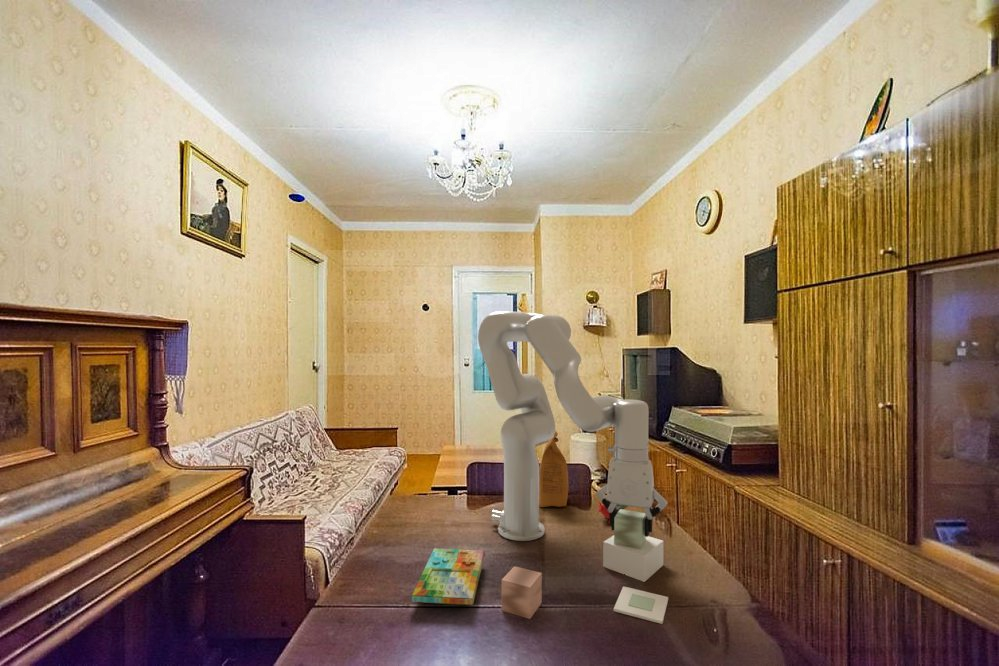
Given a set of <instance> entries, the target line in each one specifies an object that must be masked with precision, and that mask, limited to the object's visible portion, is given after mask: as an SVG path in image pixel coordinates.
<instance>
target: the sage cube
mask: <svg viewBox="0 0 999 666" xmlns="http://www.w3.org/2000/svg"><path fill="white" fill-rule="evenodd" d="M645 517H646V514H645V512H640V511H635V510H628V509H620V510H619V511H618V513H617V514H616V516H615V517H614V530H613V531H614V532H613V533H614V544H617V545H622V546H627V547H631V548H636V549H642V547H643V544H644V542H645V540H646V537H645V536H644V520H645Z"/></svg>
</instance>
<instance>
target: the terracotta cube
mask: <svg viewBox="0 0 999 666" xmlns="http://www.w3.org/2000/svg"><path fill="white" fill-rule="evenodd" d="M542 575H543V572H540V571H535V570H531V569H529V568H528V569H527V568H523V567H519V566H513V567H512V568H511V569H510V570H509V571H508V572H507V573H506V575H505V576H504V577H503V578H502V579H501V587H500V589H501V590H500V591H501V599H500V600H501V602H500V603H501V604H500V605H501V608H500V609H501V611H503V612H506V613H509V614H513V615H515V616H518V617H522V618H526V619H529V620H530V619H531V618H532V617H533V616H534V614H535V612H536V611H537V610H538V609H539V607H540V606H541V605H542V602H543V600H542V599H543V598H542V595H543V592H542V591H543V577H542Z"/></svg>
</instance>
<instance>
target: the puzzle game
mask: <svg viewBox="0 0 999 666" xmlns="http://www.w3.org/2000/svg"><path fill="white" fill-rule="evenodd" d="M485 553H486V552H485V550H481V549H480V550H479V549H477V550H476V549H457V548H453V549H452V548H437V547H436V548H433V550H432V552H431V554H430V556H429V558H428V560H427V563H426V565H425V567H424V570H423V571H422V573H421V575H420V577H419V580H418V582H417V584H416V586H415V588H414V590H413V591H412V594H411V598H410V599H411V602H412V603H413V602H414V603H415V602H416V603H418V602H419V603H423V604H424V603H425V604H441V605H442V604H443V605H458V606H459V605H461V606H462V605H464V606H470V605H474V602H475V599H476V598H475V597H476V594H477V588H478V584H479V580H480V577H481V572H482V568H483V564H484V559H485Z"/></svg>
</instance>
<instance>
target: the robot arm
mask: <svg viewBox="0 0 999 666" xmlns="http://www.w3.org/2000/svg"><path fill="white" fill-rule="evenodd" d="M571 336H572V327H571V325H570V324H569V322H568V320H567V319H565V318H564V317H563V316H560V315H556V314H555V315H554V314H553V315H552V314H540V313H532V312H525V311H524V312H523V311H511V310H498V311H493V312H491V313H490V314H487V316H485V317H484V319H483V320H482V321H481V323H480V325H479V329H478V333H477V340H478V346H479V351H480V353H481V355H482V357H483V360H484V363H485V365H486V366H485V367H486V368H487V373H488V376H489V381H490V383H491V387H492V390H493V393H494V397H495V400H496V402H497V405H498V406H499V407H500V409H502V410H504V411H515V410H516V411H517V410H521V413H518V414H514V415H512V416H510V417H508V418H507V419H506V420H505V421H504V423H503V424H502V426H501V427H500V428H501V429H500V440H501V446H502V451H503V510H502V511H500V510H496V509H492V511H491V515H490V516H491V521H497V522H499V524H498V525H497V532H498V534H499V535H500V536H502V537H503V538H504V539H508V540H511V541H517V542H526V541H527V542H529V541H533V540H534V541H535V540H537V539H539V538H541V537H543V536H544V535H545V532H546V531H545V530H546V529H545V525H544V524H543V523H542V522H540V506H539V467H540V461H539V457H538V456H537V455H538V454H537V452H536V447H538V446H541V445H544V444H547V443H548V441H550V440H551V439H552V438H553V436H554V434H555V431H556V422H555V417H554V414H553V411H552V408H551V404H550V401H549V399H548V395H547V392H546V389H545V386H544V385H543V383H542V381H541V380H540V379H539V378H538V377H537V376H535V375H533V374H530V373H522V372H521V370H520V367H519V364H518V361H517V358H516V355H515V354H514V352H513V350H511V348H510V347H509V346H508V342H510V343H511V342H512V343H513V342H515V343H516V342H517V343H518V342H519V343H520V342H526V343H530V345H531V346H532V348H533V349H534V351H535V352H536V353H537V354H538V356H539V357H540V359H541V361H542V362H543V363H544V365H545V366H546V367H547V369H548V370H549V372H550V373H551V374H552V377H553V384H554V387H555V391H556V395H557V399H558V401H559V403H560V405H561V407H563V410H564V411H565V412H566V413H567V415H568V416H569V418H570V419H571V420H572V421H573V423H574V425H576V426H577V427H578V428H579V429H581V430H583V431H585V432H588V433H593V432H597V431H600V430H603V429H606V428H610V427H614V444H613V446H612V445H611V446H608V447H607V448H608V449H607V451H608V453H611V454H612V455H613V456H612V457H611V458H610V461H609V465H608V473H607V483H606V484H605V485H603V486H602V487H601V488H599V489H598V490H597V491H596V493H595V495H596V496H597V498H598V499H599V500H600V501H601V504H602V505H604V506H605V507H606V508H607V509H608V512H609V519H608V521H609V523H608V525H609V524H610V525H609V526H611V530H612V531H614V517H615V516H616V514H617V513H618V511H617V509H616V505H617V504H619V505H625V506H627V507H633V508H639V509H643V513H645V514H646V517H645V520H644V536H645V537H648V536H649V534H650V533H652V532H653V518H655V517H656V516H657V515H658V514H659V513H660V512H661V511H663V510H664V509H665V508H666V507H667V506H668V501H667V500H666V499H665V498H664V497H663V496H662V495H661V494H660V493H659V492H658V491H657V490H656V489H655V481H654V472H653V465H652V460H650V459H649V415H650V414H649V413H650V411H649V405H648V403H647V402H646V401H643V400H641V399H640V400H639V399H627V398H626V399H624V398H623V399H622V398H618V397H615V396H611V395H600V396H595V397H592V396H591V394H590V393H589V392H588V390H587V389H586V387H585V386H584V385H583V383H582V381H581V378H580V375H579V366H580V364H581V362H582V356H581V355H580V353H579V351H577V349H576V348H575V346H574V345H573V343H571V341H570V339H571ZM605 493H606V494H605ZM654 501H656V502H657V503H658V504H657V505H656V506H654V507H652V506H653V503H654Z"/></svg>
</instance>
